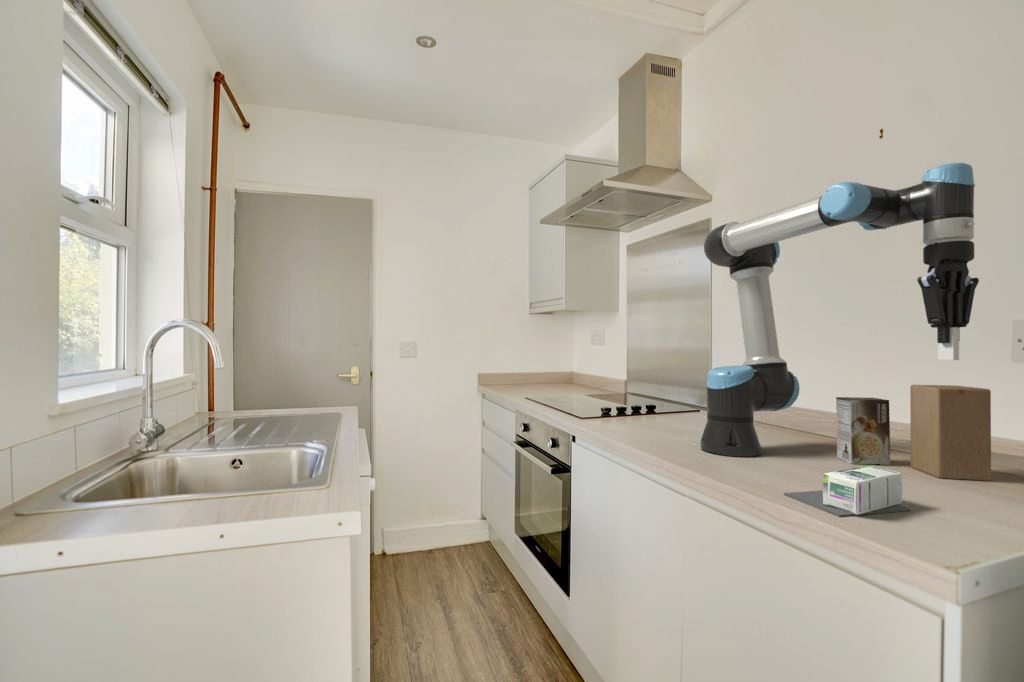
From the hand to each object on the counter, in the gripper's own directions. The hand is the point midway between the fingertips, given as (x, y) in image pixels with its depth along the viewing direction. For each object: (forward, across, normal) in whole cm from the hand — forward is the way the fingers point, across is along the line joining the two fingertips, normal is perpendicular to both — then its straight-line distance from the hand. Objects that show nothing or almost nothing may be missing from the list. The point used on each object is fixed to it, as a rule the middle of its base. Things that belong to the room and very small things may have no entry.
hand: (948, 359), depth 93 cm
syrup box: (+23, -18, -2) cm, 30 cm away
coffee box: (+27, +6, +23) cm, 36 cm away
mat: (+26, -27, -1) cm, 38 cm away
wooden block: (+27, +15, +10) cm, 32 cm away
